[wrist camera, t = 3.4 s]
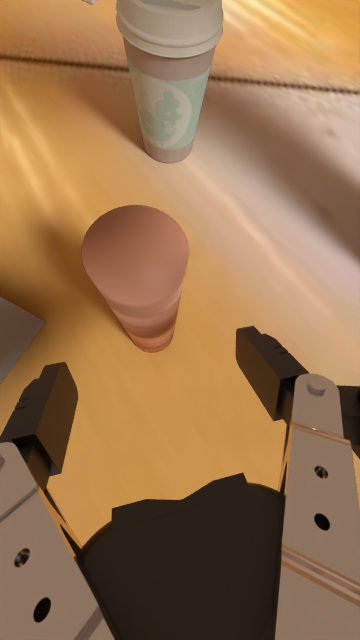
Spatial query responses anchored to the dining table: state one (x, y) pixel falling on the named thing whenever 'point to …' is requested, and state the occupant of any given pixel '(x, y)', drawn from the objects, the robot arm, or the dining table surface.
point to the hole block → (15, 333)
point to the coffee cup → (169, 67)
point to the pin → (139, 270)
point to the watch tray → (90, 1)
